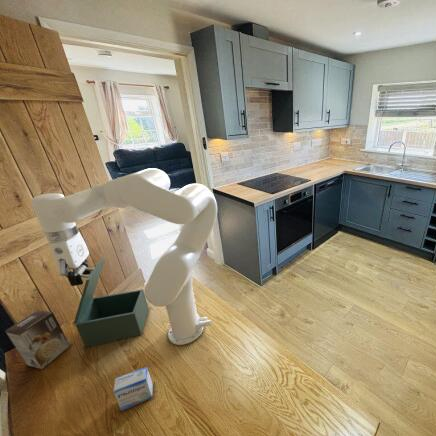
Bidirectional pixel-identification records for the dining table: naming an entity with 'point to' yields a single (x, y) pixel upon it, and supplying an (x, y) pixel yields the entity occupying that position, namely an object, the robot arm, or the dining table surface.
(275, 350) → the dining table surface
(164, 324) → the dining table surface
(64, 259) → the robot arm
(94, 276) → the box lid
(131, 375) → the medicine box
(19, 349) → the coffee box
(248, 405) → the dining table surface
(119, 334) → the green box
